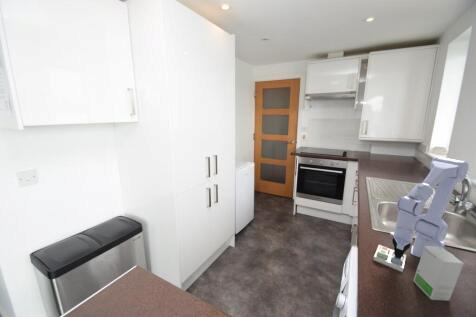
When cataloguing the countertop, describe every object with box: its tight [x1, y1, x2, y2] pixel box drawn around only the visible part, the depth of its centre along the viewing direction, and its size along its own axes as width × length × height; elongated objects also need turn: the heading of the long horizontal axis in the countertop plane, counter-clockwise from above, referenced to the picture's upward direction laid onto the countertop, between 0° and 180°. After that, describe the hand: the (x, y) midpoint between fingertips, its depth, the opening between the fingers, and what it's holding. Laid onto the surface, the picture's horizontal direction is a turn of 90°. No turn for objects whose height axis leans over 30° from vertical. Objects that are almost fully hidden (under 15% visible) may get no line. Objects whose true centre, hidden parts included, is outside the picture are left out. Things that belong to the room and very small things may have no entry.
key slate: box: [392, 254, 403, 266], centre depth 86 cm, size 3×3×2 cm
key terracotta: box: [380, 244, 391, 253], centre depth 93 cm, size 3×3×2 cm
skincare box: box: [412, 246, 465, 302], centre depth 73 cm, size 8×7×16 cm
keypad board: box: [372, 244, 407, 274], centre depth 90 cm, size 10×11×2 cm
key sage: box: [377, 248, 388, 260], centre depth 89 cm, size 3×3×2 cm
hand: (397, 256), depth 86 cm, fingers closed
